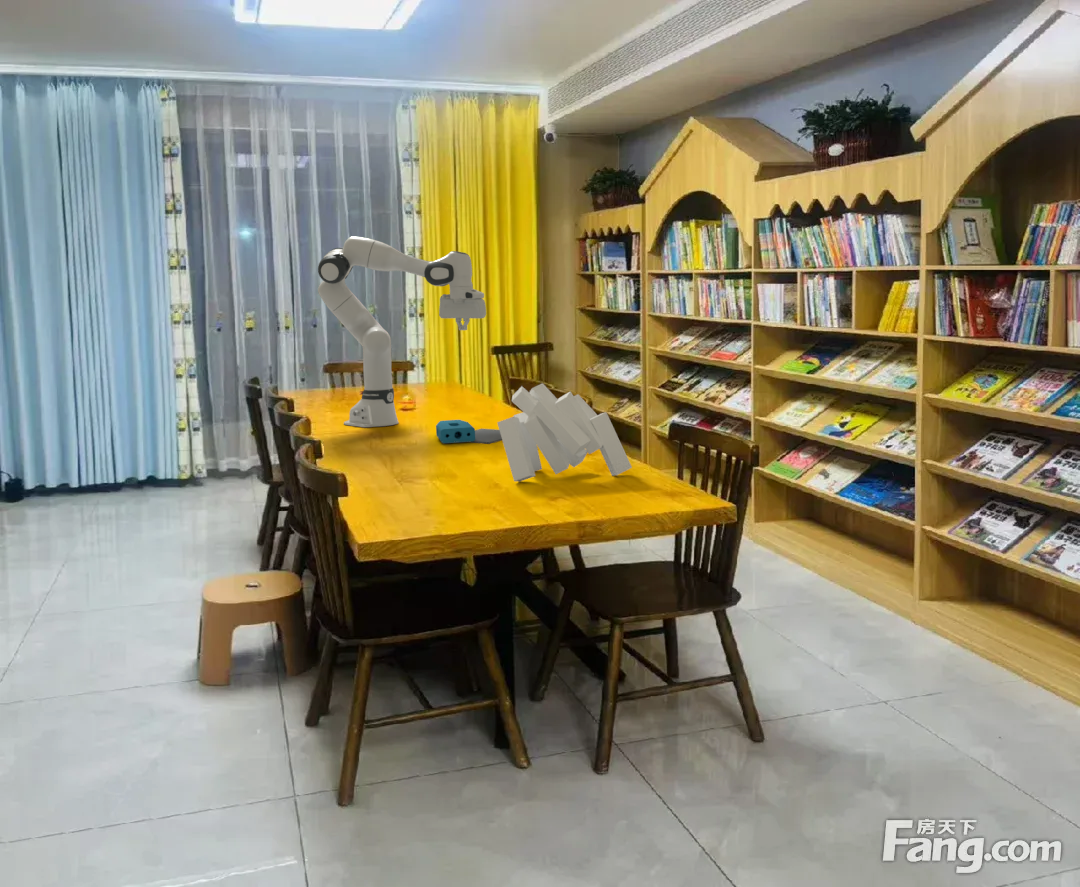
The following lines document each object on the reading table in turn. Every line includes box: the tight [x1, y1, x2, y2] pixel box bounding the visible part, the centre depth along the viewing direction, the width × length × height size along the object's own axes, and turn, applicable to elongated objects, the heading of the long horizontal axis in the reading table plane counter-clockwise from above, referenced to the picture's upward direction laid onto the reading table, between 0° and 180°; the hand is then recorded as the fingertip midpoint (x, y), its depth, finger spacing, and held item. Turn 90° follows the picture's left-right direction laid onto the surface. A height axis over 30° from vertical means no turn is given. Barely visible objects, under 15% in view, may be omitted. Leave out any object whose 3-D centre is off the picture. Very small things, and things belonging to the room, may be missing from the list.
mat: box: [469, 428, 502, 445], centre depth 379 cm, size 20×24×1 cm
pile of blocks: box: [497, 383, 633, 482], centre depth 304 cm, size 35×30×35 cm
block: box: [435, 419, 476, 444], centre depth 374 cm, size 12×5×20 cm
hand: (462, 330), depth 403 cm, fingers closed
